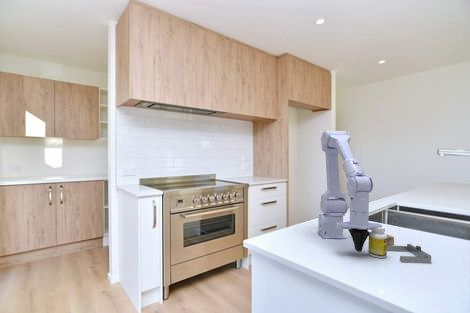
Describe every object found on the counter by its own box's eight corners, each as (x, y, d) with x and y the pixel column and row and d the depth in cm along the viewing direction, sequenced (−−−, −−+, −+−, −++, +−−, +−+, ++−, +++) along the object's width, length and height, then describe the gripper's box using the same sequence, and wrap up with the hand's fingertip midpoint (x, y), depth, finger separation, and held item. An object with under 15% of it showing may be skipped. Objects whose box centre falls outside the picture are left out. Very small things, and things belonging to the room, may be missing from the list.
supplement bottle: (386, 260, 78) (387, 230, 78) (367, 256, 81) (368, 227, 81) (386, 254, 83) (387, 226, 83) (368, 250, 86) (369, 223, 86)
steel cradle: (401, 262, 77) (402, 251, 77) (384, 249, 87) (384, 240, 87) (431, 263, 77) (431, 252, 76) (409, 250, 87) (410, 241, 86)
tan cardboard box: (381, 246, 90) (381, 238, 90) (372, 242, 94) (372, 234, 94) (394, 244, 92) (394, 236, 92) (384, 241, 96) (384, 233, 96)
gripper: (341, 213, 79) (341, 254, 79) (387, 214, 78) (386, 256, 78) (334, 208, 86) (333, 246, 86) (376, 209, 85) (375, 247, 85)
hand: (358, 250), depth 83 cm, fingers closed
